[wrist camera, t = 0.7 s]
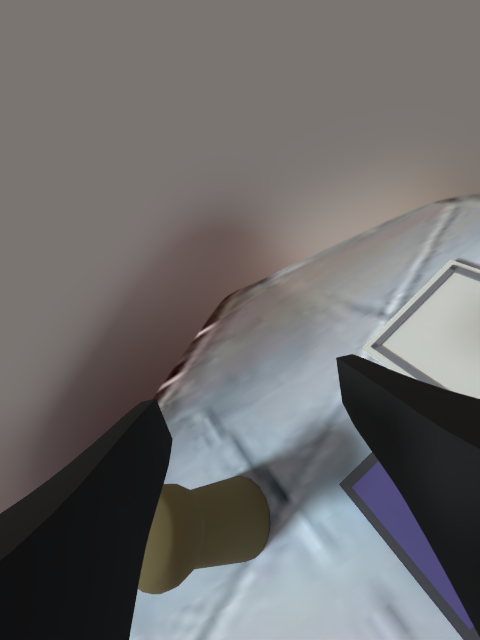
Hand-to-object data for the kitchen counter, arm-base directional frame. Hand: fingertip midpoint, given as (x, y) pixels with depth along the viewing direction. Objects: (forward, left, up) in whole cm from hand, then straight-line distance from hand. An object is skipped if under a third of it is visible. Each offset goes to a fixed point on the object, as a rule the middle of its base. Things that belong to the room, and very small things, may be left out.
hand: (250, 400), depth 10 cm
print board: (-2, -13, -16) cm, 20 cm away
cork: (+1, +11, -16) cm, 19 cm away
